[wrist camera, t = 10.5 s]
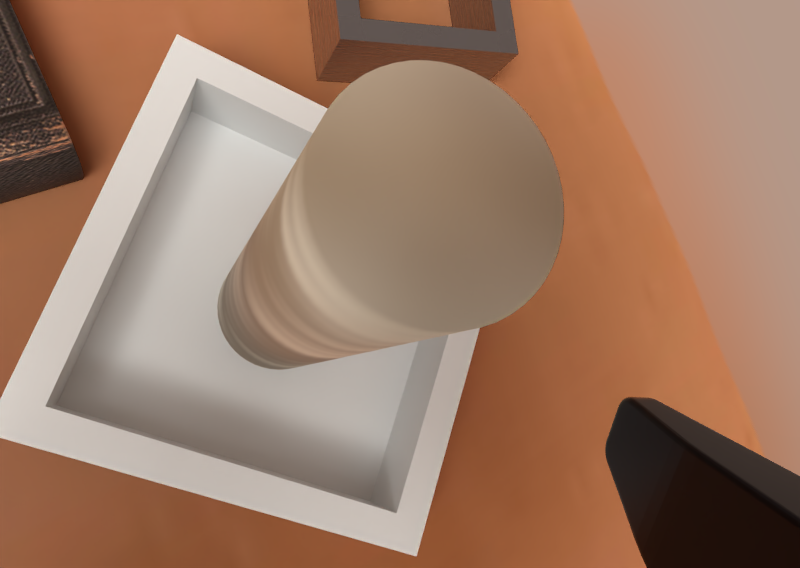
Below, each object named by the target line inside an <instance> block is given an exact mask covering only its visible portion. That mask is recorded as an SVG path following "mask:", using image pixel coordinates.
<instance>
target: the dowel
mask: <svg viewBox="0 0 800 568" xmlns="http://www.w3.org/2000/svg"><path fill="white" fill-rule="evenodd" d="M563 224H564V202H563V193H562V187H561V182H560V177H559V173H558V170H557V167H556V164H555V161H554V158H553V156H552V153H551V151H550V149H549V147H548V145H547V143H546V141H545V139H544V137H543V136H542V134H541V132H540V131H539V129H538V127H537V126H536V125H535V123H534V122H533V121H532V119H531V118H530V117H529V115H528V114H527V113H526V112H525V111H524V109H523V108H522V107H521V106H520V105H519V104H518V103H517V102H516V101H515V100H514V99H513V98H512V97H510V96H509V95H508V94H507V93H506V92H505V91H504V90H502V89H501V88H499V87H498V86H496V85H495V84H494V83H492V82H491V81H489V80H487V79H486V78H484V77H482V76H480V75H478V74H476V73H474V72H472V71H469V70H467V69H464V68H462V67H459V66H456V65H452V64H448V63H444V62H437V61H429V60H410V61H403V62H396V63H392V64H389V65H385V66H382V67H379V68H377V69H375V70H372V71H370V72H368V73H366V74H364V75H363V76H361V77H360V78H358V79H357V80H355V81H354V82H352V83H351V84H350V85H349V86H348V87H346V88H345V89H344V90H343V91H342V92H341V93H340V94H339V95H338V96H337V97H336V99H335V100H334V101H333V103H332V104H331V105H330V106H329V108H328V109H327V111H326V112H325V114H324V116H323V117H322V119H321V121H320V122H319V124H318V126H317V127H316V129H315V131H314V132H313V134H312V136H311V137H310V139H309V141H308V142H307V144H306V146H305V147H304V149H303V151H302V152H301V154H300V156H299V157H298V159H297V161H296V162H295V164H294V166H293V167H292V169H291V171H290V172H289V174H288V175H287V177H286V179H285V180H284V182H283V184H282V185H281V187H280V189H279V190H278V192H277V194H276V195H275V197H274V199H273V200H272V202H271V204H270V205H269V207H268V209H267V210H266V212H265V214H264V215H263V217H262V219H261V220H260V222H259V224H258V225H257V227H256V229H255V230H254V232H253V234H252V235H251V237H250V239H249V240H248V242H247V244H246V245H245V247H244V249H243V250H242V252H241V253H240V255H239V257H238V258H237V260H236V262H235V263H234V265H233V267H232V268H231V270H230V272H229V273H228V275H227V277H226V279H225V280H224V282H223V284H222V287H221V289H220V293H219V297H218V305H217V309H218V319H219V324H220V327H221V330H222V332H223V335H224V337H225V338H226V340H227V342H228V343H229V345H230V346H231V347H232V348H233V349H234V351H235V352H237V353H238V354H239V355H240V356H241V357H243V358H244V359H245V360H247V361H249V362H251V363H253V364H254V365H257V366H260V367H263V368H268V369H276V370H283V369H291V368H296V367H301V366H305V365H310V364H314V363H319V362H324V361H328V360H333V359H338V358H342V357H347V356H352V355H356V354H361V353H365V352H370V351H375V350H379V349H384V348H389V347H393V346H398V345H403V344H407V343H412V342H417V341H421V340H426V339H430V338H435V337H440V336H444V335H449V334H454V333H458V332H463V331H468V330H472V329H477V328H481V327H484V326H487V325H490V324H493V323H496V322H498V321H500V320H502V319H504V318H506V317H508V316H509V315H511V314H513V313H514V312H515V311H517V310H518V309H519V308H521V307H522V306H523V305H525V304H526V303H527V302H528V301H529V300H530V299H531V298H532V297H533V296H534V295H535V293H536V292H537V291H538V289H539V288H540V287H541V285H542V284H543V283H544V281H545V280H546V278H547V276H548V274H549V272H550V271H551V269H552V267H553V264H554V262H555V259H556V257H557V254H558V251H559V247H560V243H561V239H562V232H563Z"/></svg>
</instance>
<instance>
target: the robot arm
mask: <svg viewBox="0 0 800 568" xmlns="http://www.w3.org/2000/svg"><path fill="white" fill-rule="evenodd" d="M605 450H606V459H607V462H608V465H609V468H610V471H611V473H612V476H613V479H614V482H615V485H616V487H617V490H618V493H619V496H620V499H621V501H622V504H623V507H624V510H625V513H626V515H627V518H628V521H629V524H630V527H631V529H632V532H633V535H634V538H635V540H636V543H637V546H638V548H639V551H640V553H641V556H642V558H643V560H644V562H645V565H646V567H647V568H800V476H798V475H796V474H794V473H793V472H791V471H789V470H787V469H785V468H783V467H781V466H779V465H778V464H776V463H774V462H772V461H770V460H768V459H766V458H764V457H763V456H761V455H759V454H757V453H755V452H753V451H751V450H749V449H747V448H746V447H744V446H742V445H740V444H738V443H736V442H734V441H732V440H730V439H729V438H727V437H725V436H723V435H721V434H719V433H717V432H715V431H714V430H712V429H710V428H708V427H706V426H704V425H702V424H700V423H698V422H697V421H695V420H693V419H691V418H689V417H687V416H685V415H683V414H681V413H680V412H678V411H676V410H674V409H672V408H670V407H668V406H666V405H664V404H663V403H661V402H659V401H657V400H655V399H652V398H639V397H628V398H626V399H624V400H622V402H621V403H620V405H619V407H618V410H617V413H616V415H615V418H614V421H613V424H612V427H611V430H610V433H609V436H608V439H607V442H606V448H605Z"/></svg>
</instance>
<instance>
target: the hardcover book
mask: <svg viewBox="0 0 800 568" xmlns="http://www.w3.org/2000/svg"><path fill="white" fill-rule="evenodd" d="M83 177H84V174H83V170H82V166H81V163H80V161H79V158H78V155H77V153H76V150H75V148H74V145H73V143H72V140H71V138H70V136H69V134H68V131H67V129H66V127H65V125H64V122H63V120H62V118H61V116H60V113H59V111H58V109H57V107H56V104H55V102H54V100H53V98H52V95H51V93H50V91H49V88H48V86H47V84H46V82H45V79H44V77H43V75H42V73H41V70H40V68H39V66H38V64H37V61H36V59H35V57H34V55H33V52H32V50H31V48H30V46H29V43H28V41H27V39H26V37H25V34H24V32H23V30H22V28H21V25H20V23H19V21H18V19H17V16H16V14H15V12H14V10H13V7H12V5H11V3H10V1H9V0H0V203H4V202H7V201H10V200H14V199H17V198H21V197H24V196H27V195H31V194H34V193H37V192H41V191H44V190H48V189H51V188H54V187H58V186H61V185H64V184H68V183H71V182H75V181H78V180H81V179H83Z"/></svg>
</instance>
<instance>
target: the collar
mask: <svg viewBox="0 0 800 568" xmlns="http://www.w3.org/2000/svg"><path fill="white" fill-rule="evenodd" d="M308 5H309V13H310V22H311V31H312V40H313V49H314V58H315V67H316V75H317V81H335V82H354V81H355V80H357V79H358V78H360V77H361V76H363V75H364V74H366V73H368V72H370V71H372V70H375V69H377V68H379V67H382V66H385V65H389V64H392V63H396V62H403V61H410V60H429V61H437V62H444V63H448V64H452V65H456V66H459V67H462V68H464V69H467V70H469V71H472V72H474V73H476V74H478V75H480V76H482V77H484V78H486V79H487V80H490V79H491V78H492V77H493V76H494V75H495V74H497V73H498V72H499V71H500V70H501V69H502V68H503V67H504V66H505V65H506V64H508V63H509V62H510V61H511V60H512V59H513V58H514V57H515V56H516V55H518V49H517V42H516V36H515V29H514V23H513V16H512V10H511V4H510V0H449V5H450V12H451V19H452V26H453V27H445V26H435V25H424V24H414V23H404V22H394V21H383V20H373V19H363V18H361V16H360V8H359V0H308Z"/></svg>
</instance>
